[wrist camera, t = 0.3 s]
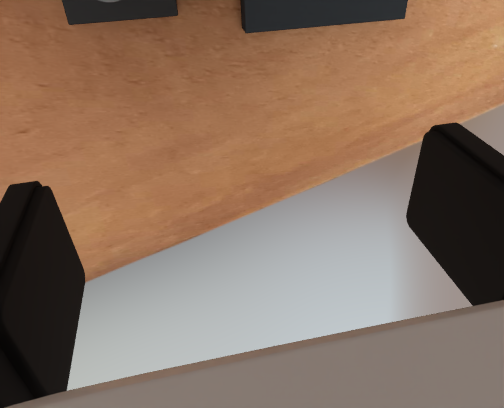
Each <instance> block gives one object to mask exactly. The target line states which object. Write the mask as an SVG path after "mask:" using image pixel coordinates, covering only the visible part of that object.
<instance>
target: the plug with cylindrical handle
mask: <svg viewBox="0 0 504 408" xmlns="http://www.w3.org/2000/svg"><path fill="white" fill-rule="evenodd" d="M62 2H63V6H64V9H65V13H66V16H67V20H68V23H69V25H74V24H86V23H98V22H110V21H122V20H134V19H146V18H157V17H169V16H178V11H177V4H176V0H62Z"/></svg>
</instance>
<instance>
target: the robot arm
mask: <svg viewBox="0 0 504 408" xmlns="http://www.w3.org/2000/svg"><path fill="white" fill-rule="evenodd" d="M406 218H407V223H408V225H409V227H410V228H411V229H412V230H413V232H414V233H415V234H416V236H417V237H418V238H419V239H420V241H421V242H422V243H423V244H424V246H425V247H426V248H427V249H428V250H429V252H430V253H431V254H432V256H433V257H434V258H435V259H436V261H437V262H438V263H439V264H440V266H441V267H442V268H443V269H444V271H445V272H446V273H447V274H448V276H449V277H450V278H451V279H452V280H453V282H454V283H455V284H456V286H457V287H458V288H459V289H460V290H461V292H462V293H463V294H464V296H465V297H466V298H467V299H468V300H469V302H470V303H471V304H472V305H473V306H471V307H466V308H462V309H456V310H451V311H446V312H441V313H436V314H431V315H426V316H421V317H416V318H411V319H407V320H401V321H396V322H392V323H386V324H381V325H376V326H371V327H366V328H361V329H356V330H351V331H347V332H342V333H337V334H332V335H327V336H322V337H318V338H313V339H307V340H302V341H298V342H293V343H288V344H283V345H278V346H273V347H268V348H264V349H259V350H254V351H250V352H244V353H240V354H235V355H230V356H225V357H221V358H216V359H211V360H207V361H202V362H197V363H192V364H187V365H182V366H178V367H173V368H168V369H163V370H159V371H154V372H149V373H144V374H140V375H135V376H131V377H126V378H122V379H118V380H113V381H109V382H104V383H100V384H95V385H91V386H86V387H82V388H78V389H73V390H69V391H67V385H68V379H69V374H70V368H71V362H72V356H73V350H74V344H75V339H76V333H77V327H78V321H79V315H80V309H81V303H82V297H83V292H84V285H85V273H84V269H83V266H82V264H81V261H80V259H79V256H78V254H77V251H76V249H75V246H74V244H73V242H72V239H71V237H70V234H69V232H68V229H67V227H66V224H65V222H64V219H63V217H62V214H61V212H60V210H59V207H58V205H57V202H56V200H55V197H54V195H53V192H52V190H51V188H50V187H49V186H43V187H42V185H41V184H40V183H39V182H38V181H34V182H26V183H19V184H12V185H10V186H9V187H8V189H7V191H6V193H5V195H4V197H3V199H2V201H1V203H0V408H504V156H503V155H502V154H501V153H499V152H498V151H497V150H495V149H494V148H492V147H491V146H490V145H488V144H486V143H485V142H484V141H482V140H481V139H480V138H478V137H477V136H476V135H474V134H473V133H471V132H470V131H468V130H467V129H466V128H464V127H463V126H462V125H460V124H458V123H449V124H442V125H434V126H433V127H431V129H430V130H429V132H427V133H426V134H425V135H424V138H423V141H422V146H421V150H420V155H419V160H418V164H417V169H416V173H415V178H414V183H413V187H412V192H411V196H410V200H409V205H408V209H407V215H406Z"/></svg>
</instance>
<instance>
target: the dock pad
mask: <svg viewBox="0 0 504 408" xmlns="http://www.w3.org/2000/svg"><path fill="white" fill-rule="evenodd" d="M407 2H408V0H241V17H242V28H243V30H244V31H245V33H254V32H265V31H276V30H287V29H298V28H309V27H320V26H330V25H341V24H352V23H363V22H374V21H385V20H396V19H404V18H405V13H406V7H407Z"/></svg>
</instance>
